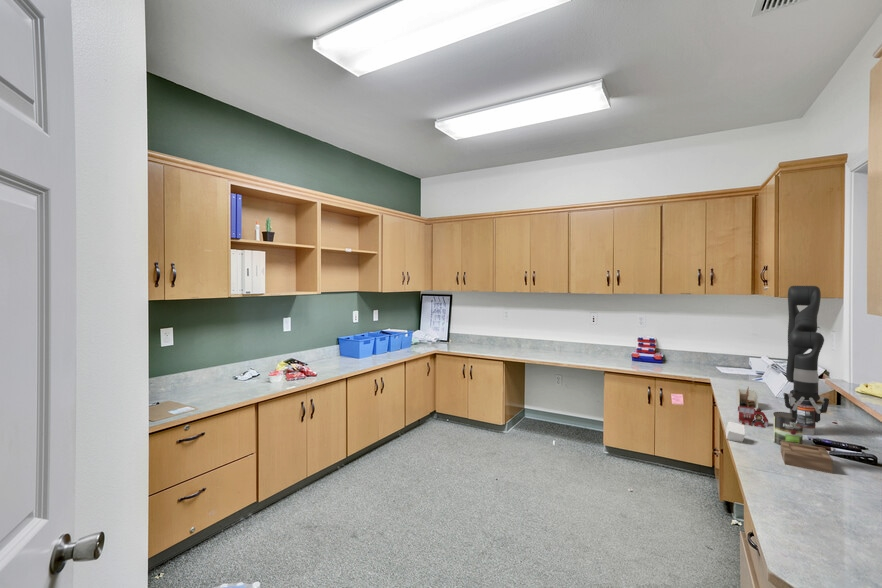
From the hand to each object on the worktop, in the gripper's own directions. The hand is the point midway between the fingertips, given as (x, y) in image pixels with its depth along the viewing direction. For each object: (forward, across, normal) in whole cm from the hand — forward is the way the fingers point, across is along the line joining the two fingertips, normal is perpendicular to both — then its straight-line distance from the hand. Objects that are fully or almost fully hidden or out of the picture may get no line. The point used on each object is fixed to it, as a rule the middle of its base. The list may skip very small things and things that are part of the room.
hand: (805, 420), depth 161 cm
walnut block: (+18, 0, 0) cm, 18 cm away
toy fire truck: (+18, +12, -42) cm, 47 cm away
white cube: (+18, +22, -13) cm, 31 cm away
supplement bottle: (+3, 0, 0) cm, 3 cm away
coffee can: (+18, +2, -20) cm, 27 cm away
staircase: (+18, +11, -74) cm, 76 cm away
